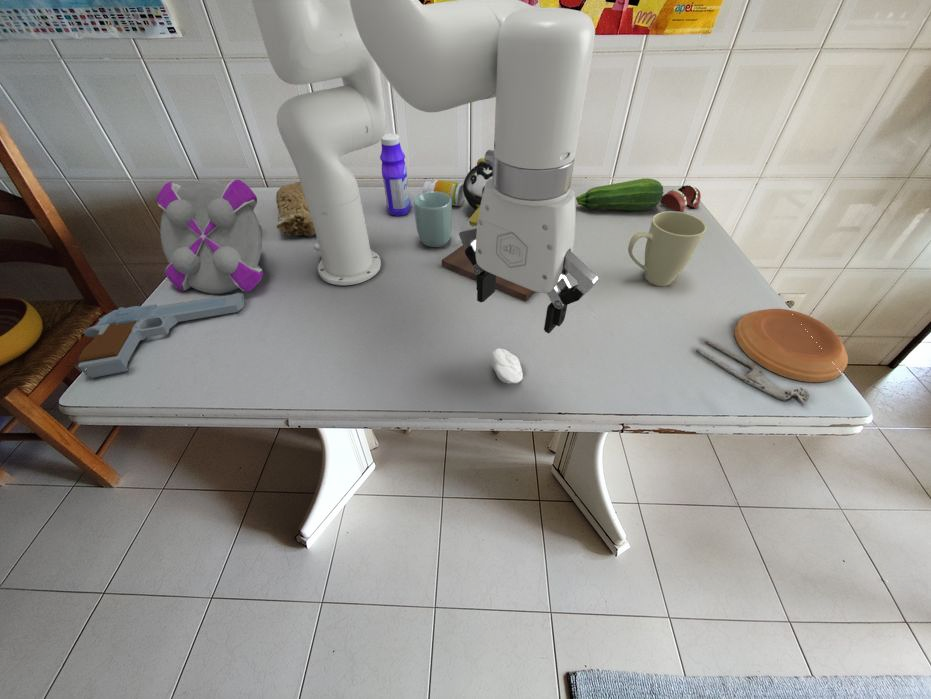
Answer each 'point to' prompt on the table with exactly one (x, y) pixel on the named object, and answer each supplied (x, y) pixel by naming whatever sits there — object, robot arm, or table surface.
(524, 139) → the robot arm
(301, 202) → the sponge
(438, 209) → the cup
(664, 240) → the mug
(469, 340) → the table surface
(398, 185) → the bottle
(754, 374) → the nutcracker
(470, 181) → the alarm clock
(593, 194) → the vegetable
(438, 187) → the supplement bottle
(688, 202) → the dentures
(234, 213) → the toy
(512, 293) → the bread board
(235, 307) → the handgun
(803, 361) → the saucer
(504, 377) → the dumpling
